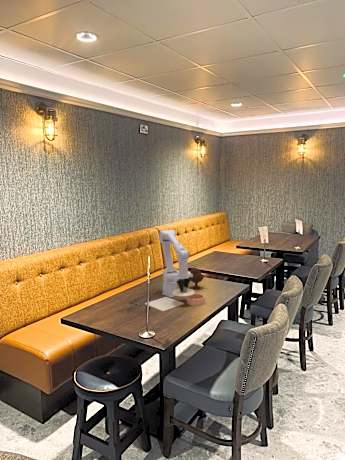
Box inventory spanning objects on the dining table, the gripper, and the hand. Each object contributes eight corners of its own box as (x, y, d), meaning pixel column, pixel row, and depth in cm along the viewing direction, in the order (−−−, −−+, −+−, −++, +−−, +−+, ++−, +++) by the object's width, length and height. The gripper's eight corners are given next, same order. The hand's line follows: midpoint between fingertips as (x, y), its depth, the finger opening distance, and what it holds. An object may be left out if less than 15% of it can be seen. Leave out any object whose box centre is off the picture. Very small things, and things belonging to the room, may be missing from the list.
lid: (167, 292, 228) (167, 287, 227) (183, 287, 237) (183, 282, 237) (183, 298, 218) (182, 292, 217) (199, 292, 227) (199, 287, 226)
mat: (144, 304, 229) (144, 303, 229) (165, 297, 241) (165, 296, 241) (163, 311, 216) (163, 311, 216) (184, 304, 228) (184, 303, 228)
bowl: (183, 303, 229) (183, 296, 228) (195, 299, 236) (195, 292, 236) (196, 307, 221) (196, 300, 220) (208, 303, 228) (208, 296, 228)
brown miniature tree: (203, 291, 252) (203, 269, 250) (187, 290, 255) (187, 269, 252) (204, 286, 263) (204, 266, 260) (189, 285, 265) (189, 265, 263)
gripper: (179, 272, 217) (179, 294, 219) (196, 268, 227) (196, 289, 229) (171, 270, 223) (171, 291, 225) (188, 266, 232) (188, 286, 234)
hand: (183, 290), depth 227 cm, fingers closed on lid, 3 cm apart
